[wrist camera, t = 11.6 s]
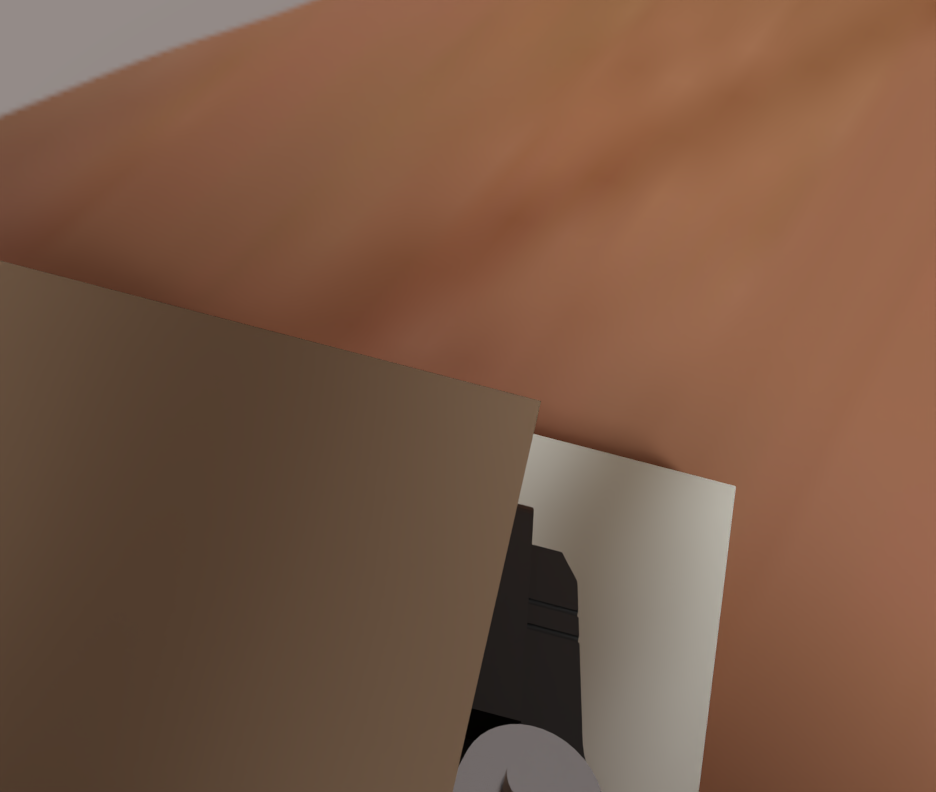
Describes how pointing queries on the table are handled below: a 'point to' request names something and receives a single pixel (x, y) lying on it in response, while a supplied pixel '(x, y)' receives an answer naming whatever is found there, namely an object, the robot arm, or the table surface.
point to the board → (637, 604)
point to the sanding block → (237, 552)
